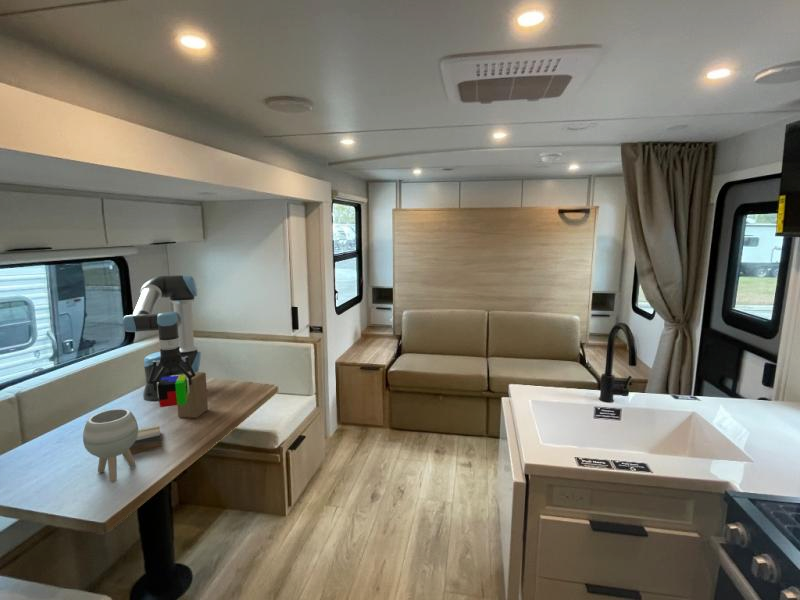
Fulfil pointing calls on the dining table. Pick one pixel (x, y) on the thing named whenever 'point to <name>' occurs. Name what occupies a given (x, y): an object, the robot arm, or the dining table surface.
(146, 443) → the dock
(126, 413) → the planter
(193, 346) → the robot arm
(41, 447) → the dining table surface
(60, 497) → the dining table surface
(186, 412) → the wooden block
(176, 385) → the puzzle toy
